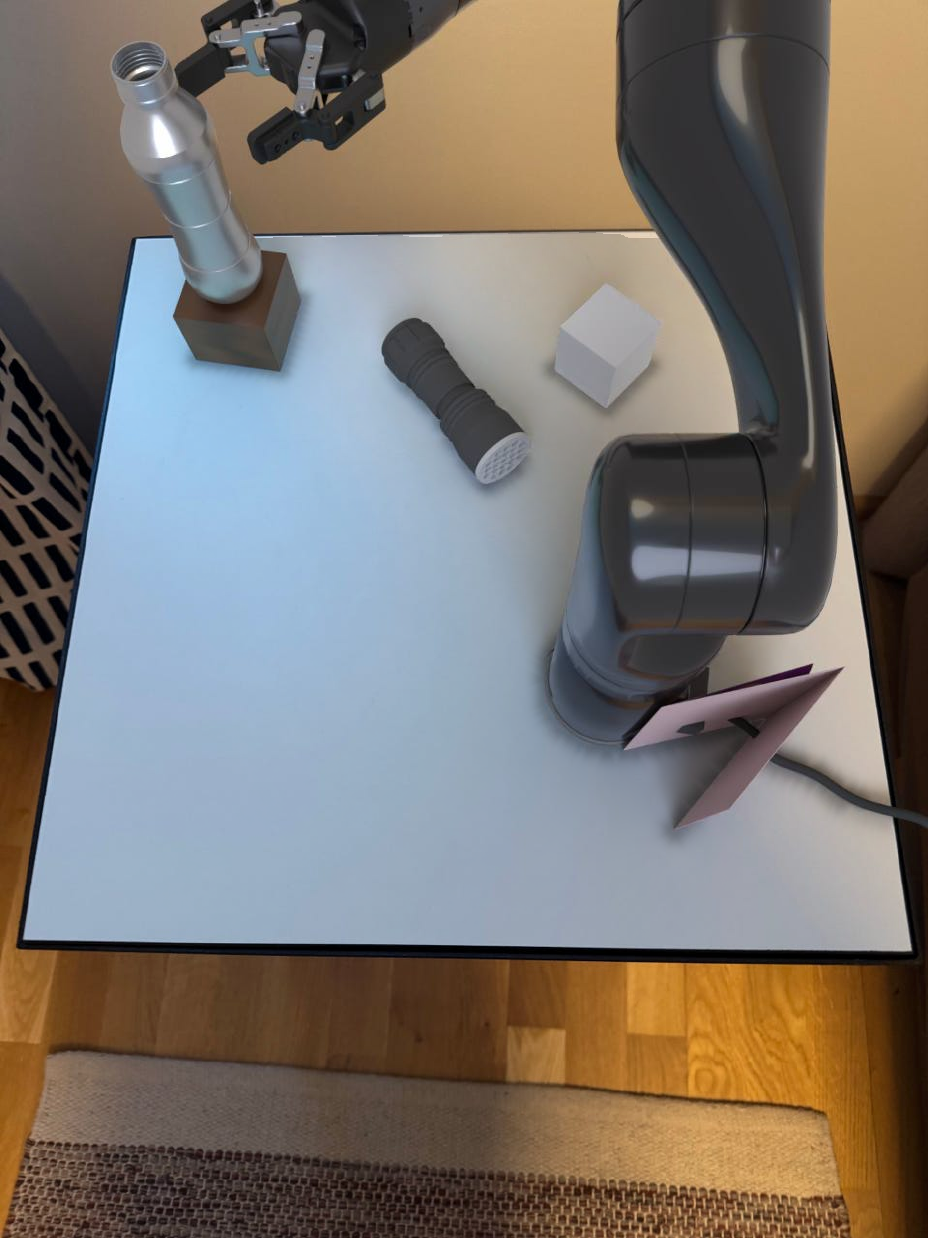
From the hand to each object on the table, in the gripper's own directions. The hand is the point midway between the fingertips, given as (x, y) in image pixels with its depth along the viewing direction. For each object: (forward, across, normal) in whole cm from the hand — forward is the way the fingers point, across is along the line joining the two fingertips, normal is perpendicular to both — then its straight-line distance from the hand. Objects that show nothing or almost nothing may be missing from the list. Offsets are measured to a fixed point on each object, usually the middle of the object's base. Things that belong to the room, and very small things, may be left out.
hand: (215, 119), depth 59 cm
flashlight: (-3, +20, +20) cm, 28 cm away
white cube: (-16, +26, +20) cm, 36 cm away
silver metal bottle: (+4, 0, +14) cm, 14 cm away
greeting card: (+4, +56, +20) cm, 59 cm away
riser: (+4, 0, +20) cm, 20 cm away
